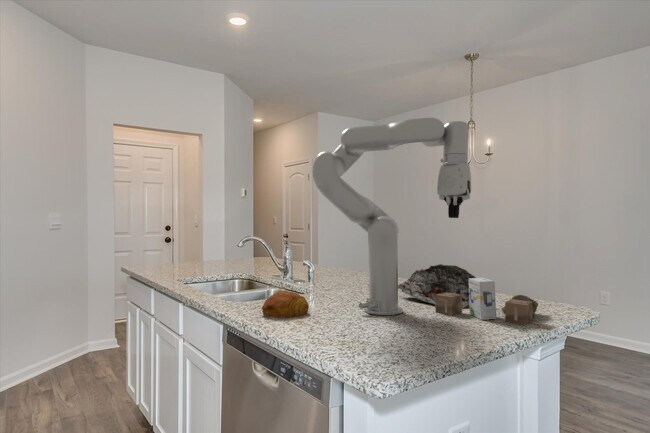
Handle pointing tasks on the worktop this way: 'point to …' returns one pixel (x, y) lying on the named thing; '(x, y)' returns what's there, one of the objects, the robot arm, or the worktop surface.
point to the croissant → (285, 305)
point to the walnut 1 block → (518, 312)
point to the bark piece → (438, 283)
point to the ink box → (482, 298)
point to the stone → (524, 298)
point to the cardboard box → (448, 303)
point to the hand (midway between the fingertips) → (453, 217)
